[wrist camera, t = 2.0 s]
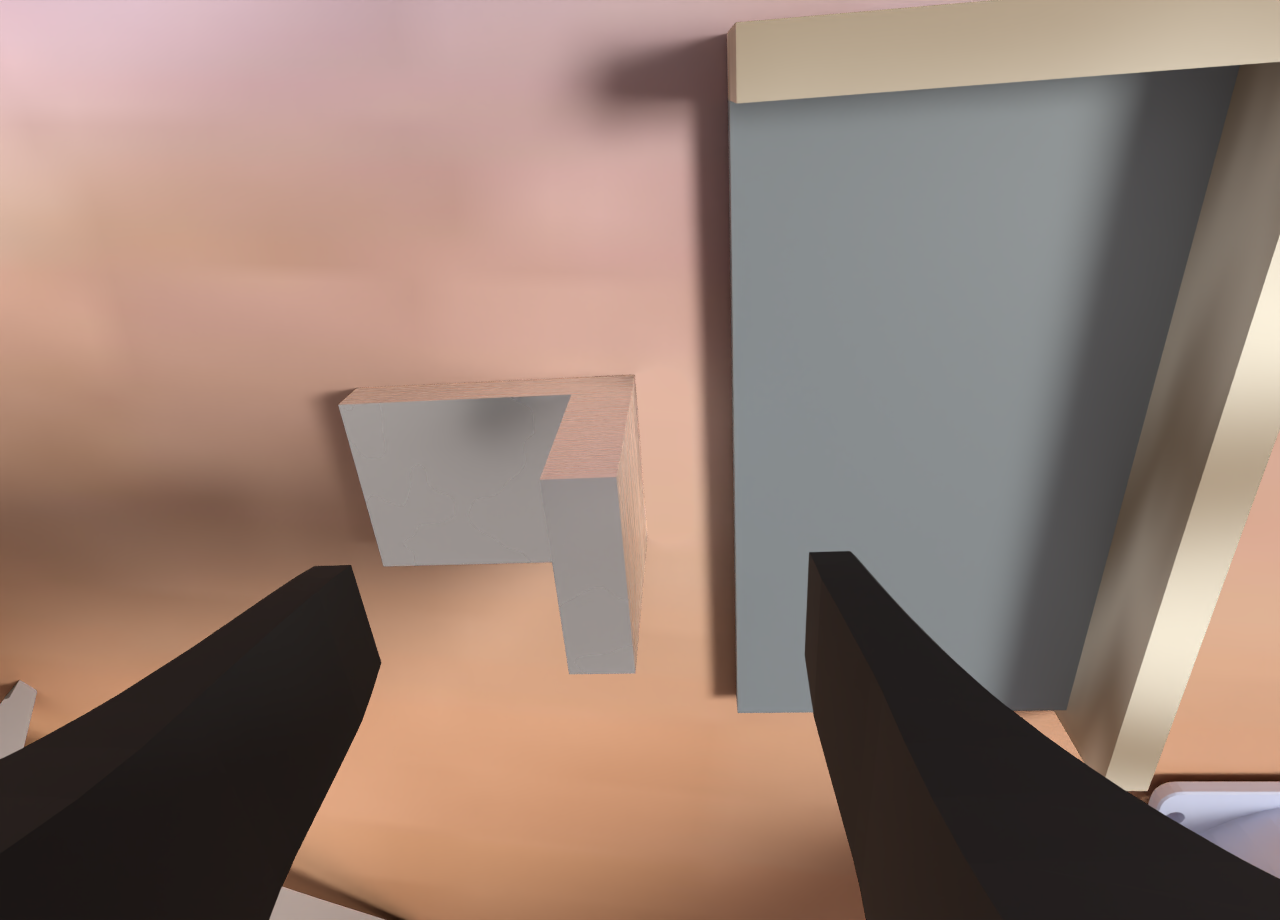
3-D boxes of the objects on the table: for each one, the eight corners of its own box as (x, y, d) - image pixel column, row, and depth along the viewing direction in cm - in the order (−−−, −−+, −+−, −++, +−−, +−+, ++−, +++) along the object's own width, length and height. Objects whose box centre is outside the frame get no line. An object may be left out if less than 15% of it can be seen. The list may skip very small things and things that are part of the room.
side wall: (1216, 61, 12) (1337, 56, 10) (728, 99, 13) (736, 103, 10) (1234, -10, 12) (1366, -32, 9) (727, 33, 12) (736, 22, 10)
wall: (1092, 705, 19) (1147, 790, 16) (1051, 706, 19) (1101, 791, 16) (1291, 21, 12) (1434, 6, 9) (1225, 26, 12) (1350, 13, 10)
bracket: (634, 373, 15) (615, 476, 11) (647, 534, 17) (635, 673, 13) (357, 386, 16) (246, 489, 12) (398, 541, 18) (313, 677, 14)
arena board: (1055, 692, 18) (1066, 710, 18) (736, 695, 19) (737, 712, 19) (1216, 61, 12) (1241, 60, 11) (728, 99, 13) (729, 100, 12)
